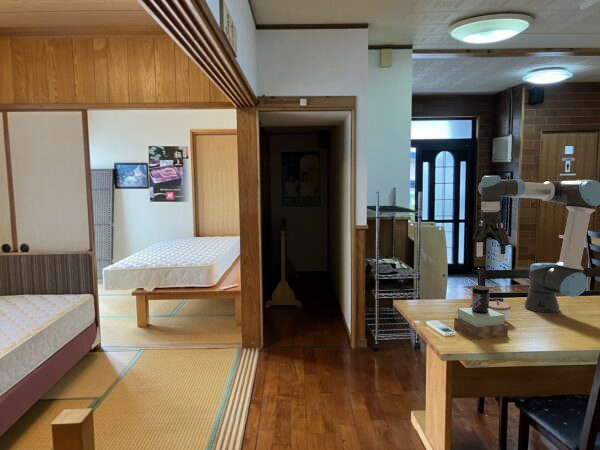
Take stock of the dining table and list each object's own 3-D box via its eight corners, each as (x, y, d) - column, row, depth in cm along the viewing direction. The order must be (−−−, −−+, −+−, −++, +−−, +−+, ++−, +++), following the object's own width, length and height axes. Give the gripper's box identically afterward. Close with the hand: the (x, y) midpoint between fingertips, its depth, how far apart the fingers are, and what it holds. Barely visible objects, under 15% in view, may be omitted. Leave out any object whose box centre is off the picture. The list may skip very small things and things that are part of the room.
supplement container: (471, 308, 186) (472, 285, 185) (488, 310, 184) (489, 286, 183) (471, 313, 180) (472, 288, 179) (488, 314, 178) (489, 290, 176)
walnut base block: (483, 325, 192) (483, 314, 191) (507, 336, 177) (508, 325, 177) (454, 328, 188) (454, 317, 188) (476, 340, 174) (476, 328, 173)
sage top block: (483, 315, 190) (483, 306, 190) (503, 324, 178) (504, 315, 177) (457, 317, 187) (457, 308, 187) (476, 327, 175) (476, 317, 174)
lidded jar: (511, 319, 198) (513, 299, 196) (507, 326, 189) (508, 305, 188) (487, 315, 204) (488, 296, 202) (482, 321, 195) (482, 301, 194)
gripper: (464, 210, 199) (464, 255, 201) (504, 213, 175) (503, 264, 177) (478, 209, 201) (478, 253, 203) (519, 212, 177) (518, 262, 179)
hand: (490, 258), depth 190 cm, fingers open, 13 cm apart
